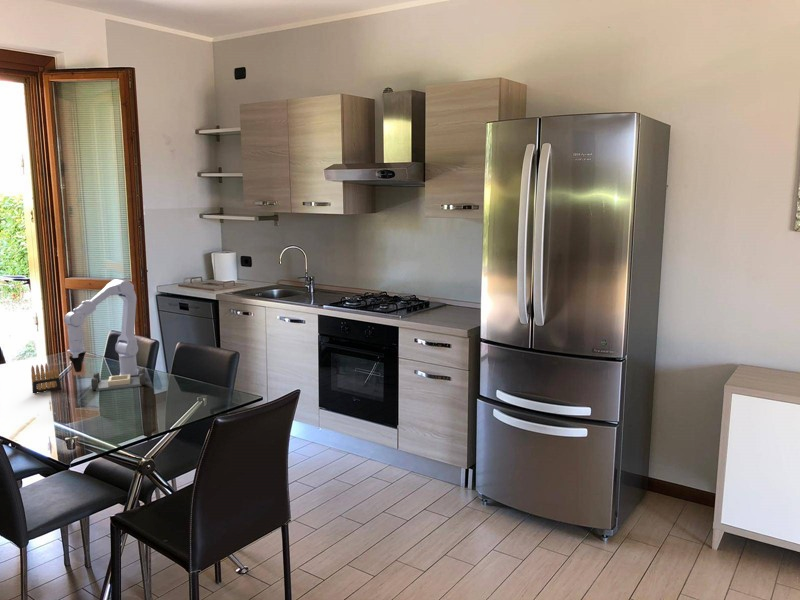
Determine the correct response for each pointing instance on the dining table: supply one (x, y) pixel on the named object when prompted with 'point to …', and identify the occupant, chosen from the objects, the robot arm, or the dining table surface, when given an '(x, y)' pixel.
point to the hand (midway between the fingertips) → (79, 370)
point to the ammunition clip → (48, 381)
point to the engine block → (81, 370)
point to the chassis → (118, 381)
